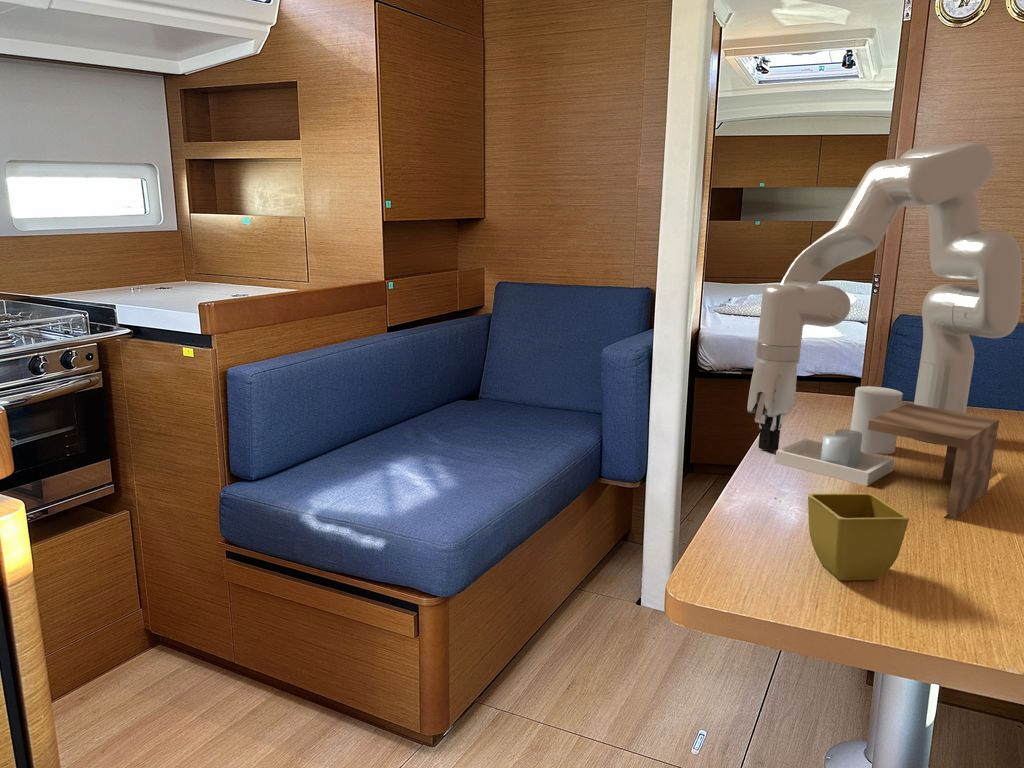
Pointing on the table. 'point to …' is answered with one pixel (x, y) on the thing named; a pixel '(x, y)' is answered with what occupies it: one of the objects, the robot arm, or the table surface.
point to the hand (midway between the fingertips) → (768, 449)
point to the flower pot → (855, 534)
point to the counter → (949, 447)
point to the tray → (809, 459)
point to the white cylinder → (871, 406)
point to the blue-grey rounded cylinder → (835, 449)
